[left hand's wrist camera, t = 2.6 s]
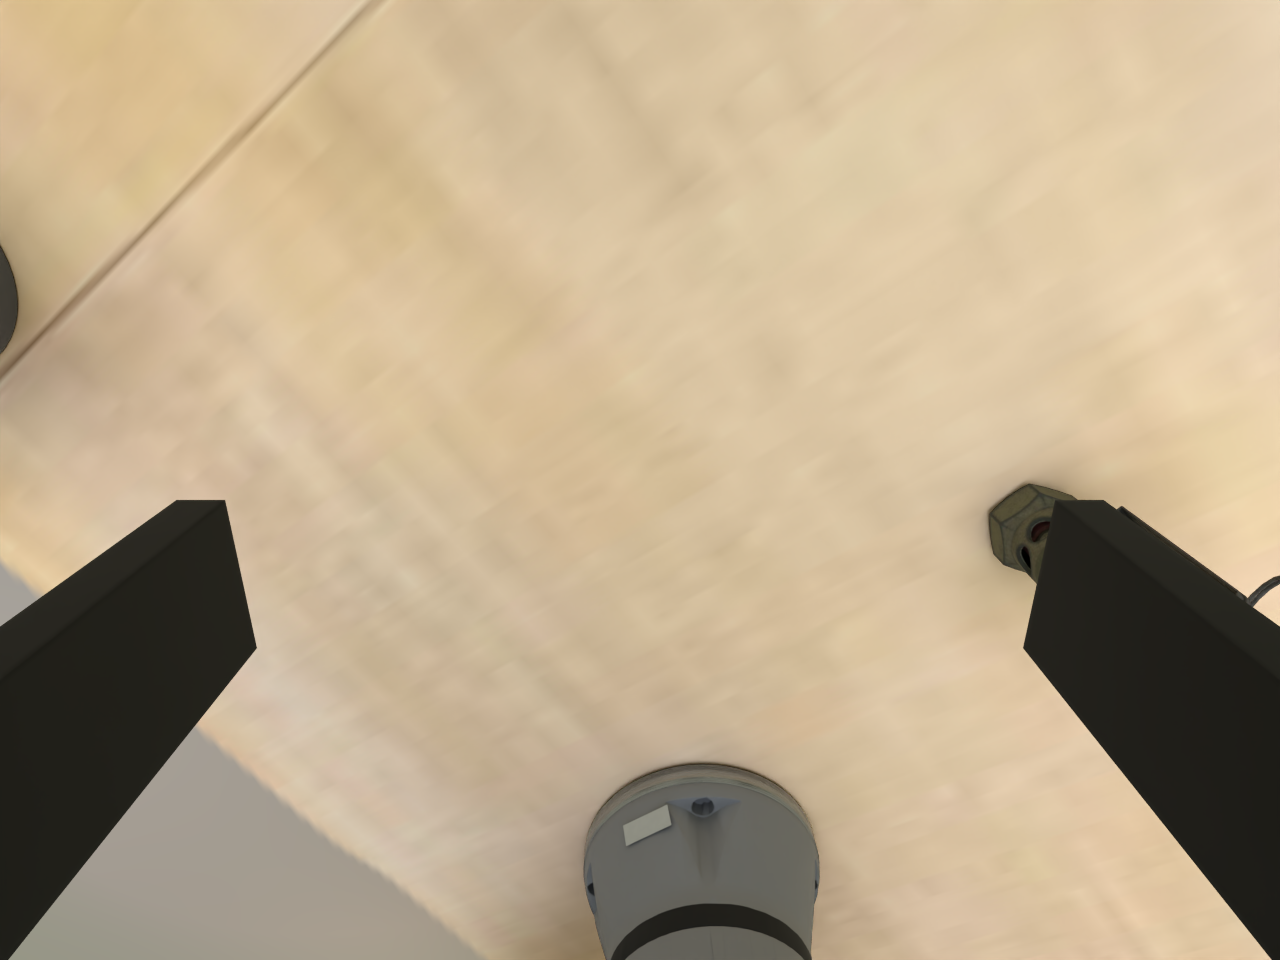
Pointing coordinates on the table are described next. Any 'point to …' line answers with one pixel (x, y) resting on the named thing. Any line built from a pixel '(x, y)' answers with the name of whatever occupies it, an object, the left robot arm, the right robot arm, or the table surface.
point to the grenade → (1026, 528)
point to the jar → (6, 302)
